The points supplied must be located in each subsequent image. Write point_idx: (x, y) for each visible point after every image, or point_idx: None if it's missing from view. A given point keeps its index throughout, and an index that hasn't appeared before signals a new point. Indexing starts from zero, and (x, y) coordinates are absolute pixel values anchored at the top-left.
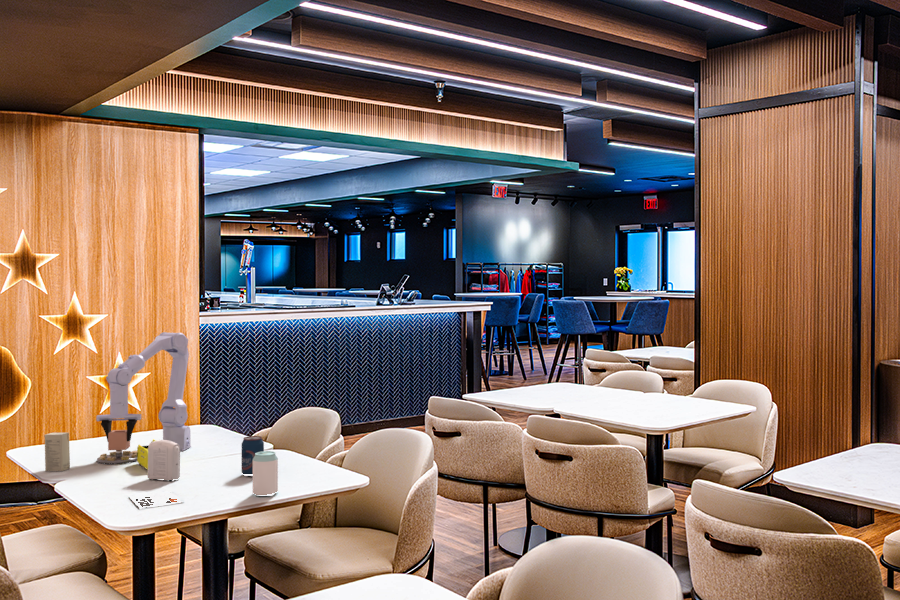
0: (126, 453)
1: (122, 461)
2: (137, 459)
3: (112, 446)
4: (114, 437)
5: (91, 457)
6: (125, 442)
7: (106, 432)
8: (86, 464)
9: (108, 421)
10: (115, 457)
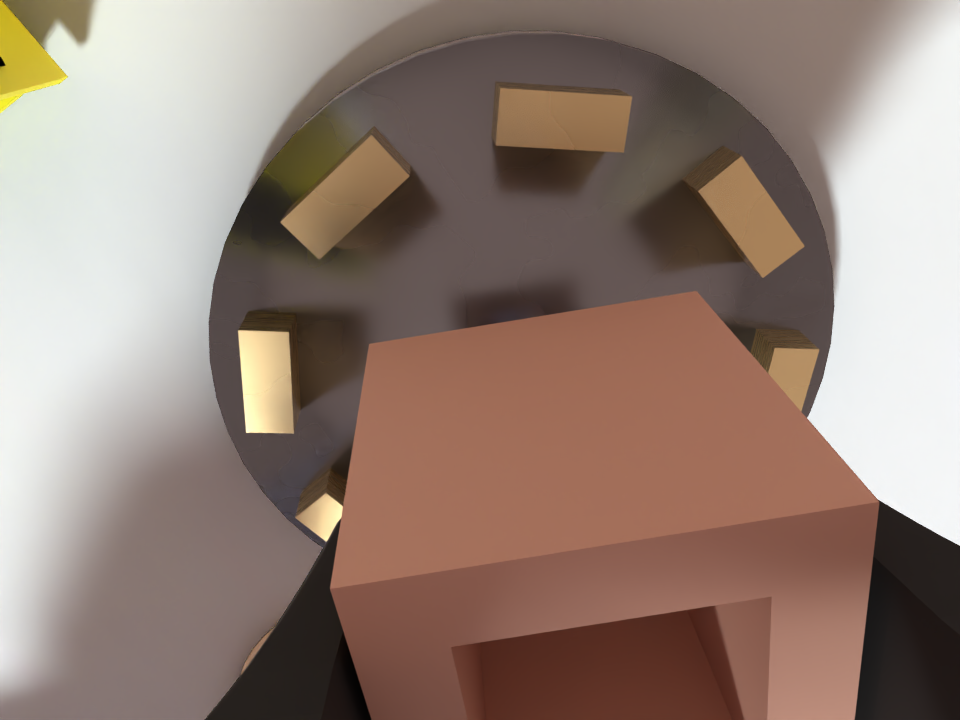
0: None
1: (348, 93)
2: (40, 74)
3: (636, 334)
4: (646, 446)
5: (941, 501)
6: (368, 420)
7: (952, 565)
8: (932, 50)
9: None
10: None
